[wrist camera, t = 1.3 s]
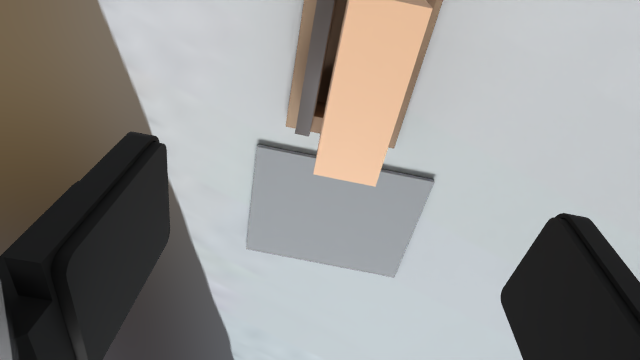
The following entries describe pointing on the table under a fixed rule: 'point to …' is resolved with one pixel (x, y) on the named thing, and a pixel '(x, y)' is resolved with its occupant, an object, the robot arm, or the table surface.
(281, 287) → the table surface
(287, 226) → the rubber mat
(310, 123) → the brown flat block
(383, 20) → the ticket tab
